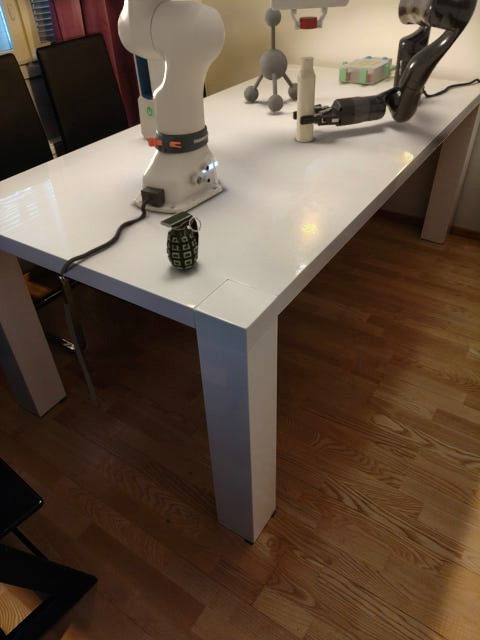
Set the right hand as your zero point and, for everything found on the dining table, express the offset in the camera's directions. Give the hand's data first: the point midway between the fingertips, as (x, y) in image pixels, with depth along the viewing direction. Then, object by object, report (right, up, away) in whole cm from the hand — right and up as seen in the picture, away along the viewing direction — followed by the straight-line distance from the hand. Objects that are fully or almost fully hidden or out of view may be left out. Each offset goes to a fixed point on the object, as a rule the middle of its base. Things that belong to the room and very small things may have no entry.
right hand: (297, 118), depth 141 cm
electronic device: (-41, -2, +11) cm, 42 cm away
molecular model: (-2, +21, +37) cm, 42 cm away
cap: (+1, +20, -15) cm, 25 cm away
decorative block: (+36, +42, +61) cm, 82 cm away
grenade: (-27, -49, -50) cm, 75 cm away
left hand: (+1, +18, -13) cm, 22 cm away
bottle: (+3, -4, +4) cm, 7 cm away
